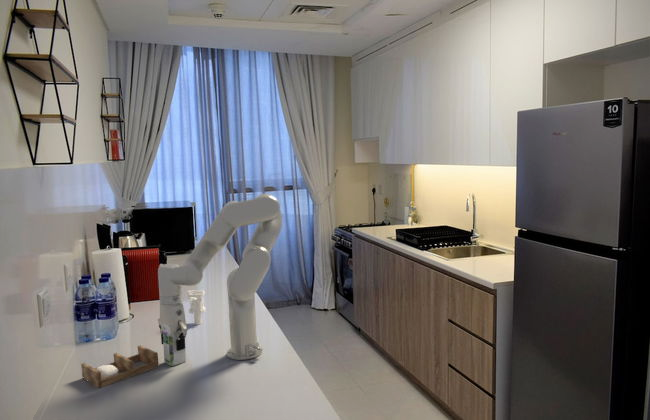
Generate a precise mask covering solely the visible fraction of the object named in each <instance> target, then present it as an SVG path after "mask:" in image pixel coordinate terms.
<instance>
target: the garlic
mask: <svg viewBox="0 0 650 420" xmlns="http://www.w3.org/2000/svg"><path fill="white" fill-rule="evenodd" d="M96 368H97V369H96V370H98V371H99V372H101V380H102V379H105V378H108V377H111V376H114V375H117V374H120V373H119V371H120V370H118V369H117V368H116V367H115V366H113V365H107V364H103V365H101V366H97V367H96Z"/></svg>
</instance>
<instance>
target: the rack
mask: <svg viewBox="0 0 650 420" xmlns="http://www.w3.org/2000/svg"><path fill="white" fill-rule="evenodd" d="M139 361H141V362H143V363H145V364H143V365H139V366H137V367H135V368H134V363H136V362H139ZM106 365H113V366H115V367H116V368H117V369H118V370H119V371H120V373H119V374H117V375H114V376H111V377H108V378H105V379H102V380H101V372H99V371H98V370H96V369H97V368H98V367H95V368H94V367H93V366H90V365H88V364H87V363H86V362H83V363H81V374H82V375H81V376H82V378H83V377H84V378H85V379H86V380H88V381H89V382H90V383H89V382H88V381H87V382H88V383H89V384H91V383H92V384H91V385H92V386H94V387H96V388H97V389H100V388H103V387H106V386H109V385H113V384H114V383H117V382H120V381H123V380H126V379H128V378H132V377H133V376H137V375H139V374H140V375H141V374H143V373H145V372H148V371H150V370H153V369H157V368H159V366H160V365H159V353H158V352H157V351H155V350H152V349H150V348H147V347H145V346H144V345H137V354H135V355H132V356H129V357H125V356H124V355H122V354H120V353H118V352H116V353H113V362H109V363H106ZM86 380H85V381H86Z"/></svg>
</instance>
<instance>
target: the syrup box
mask: <svg viewBox="0 0 650 420" xmlns="http://www.w3.org/2000/svg"><path fill="white" fill-rule="evenodd" d="M162 326H163V344H162V345H163V359H164V360H163V361H164V363H166V364H167V365H169V366H171V367H174V366H177V365H179V364H182V363H185V362H186V361H187V358H186V357H187V356H186V355H187V354H186V348H185V349H183V350H180V351H177V350H176V340H177V337H176V335H175V333H172V331H171V326H168V325H165V324H162ZM178 330H180V329H178ZM178 330H176V331H178ZM178 334H179V335H180V334H181V332H180V333H178Z"/></svg>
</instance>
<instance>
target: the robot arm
mask: <svg viewBox="0 0 650 420" xmlns="http://www.w3.org/2000/svg"><path fill="white" fill-rule="evenodd" d="M280 204H281V203H280V201H279V200H278V199H277V198H276V197H275V196H273V195H271V194H269V193H261V194H259V195H257V197H255V198H251V199H248V200H247V199H245V200H242V201H237V200H230V201H228V202H227V203H225V205H223V207H222V208H221V210H220V211H219V213H218V214H217V215H216V217H215V218H214V219H213V221H212V222H211V224H210V226H209V227H208V228H207V230H206V231H205V232H204V234H203V236H202V237H201V239H200V240H199V241H198V243H197V244H196V246H195V247H194V249H192V251H191V253H190V254H189V255H188V257H187V259H186V260H185V261H184V263H183V265H179V264H177V263H164V264H161V265H159V267H157V278H158V292H159V293H158V296H159V318H157V322H158V327H159V329H160V330H159V332H160V340H161V342H160V344H161V345H163V326H162V324H165V325H168V326H171V331H172V333H175V335H176V337H177V340H176V350H177V351H180V350H183V349H185V350H186V336H187V332H188V327H187V322H186V321H187V320H186V314H185V308H184V304H183V295H182V286H188V287H190V286H191V287H192V286H193V287H194V286H197V285H198V284H200V283H201V282H202V280H203V277H204V275H203V274H204V271H205V270H206V268H207V267H208V265H209V263H210V262H211V261H212V260H213V258H214V257H215V256H216V255H217V254H218V253H219V252H221V251H222V250H223V249H224V248H226V246H227V245H228V243H229V242H230V240H231V239H232V237H233V236H234V234H235V233H236V231H237V230H238V229H239V228H240V227H245V226H250V225H254V224H257V226H256V228H255V230H254V231H253V234H252V236H251V238H250V239H249V241H248V242H247V244H246V246H245V247H244V249H243V251H242V253H241V254H242V255H241V257H242V260H241V261H240V264H239V266H238V267H237V268H234V269H233V270H232V271H230V272H229V274H228V276H227V280H226V289H227V300H228V301H227V302H228V318H229V319H228V320H229V322H228V323H229V334H230V335H229V337H230V339H229V340H230V348H229V349H228V350H227V351H226V356H227V358H229V359H231V360H236V361H246V360H251V359H254V358H257V357H259V356H260V355H262V353H263V348H262V347H261V346H260V344H259V342H258V337H257V336H258V335H257V316H256V315H257V312H256V310H257V309H256V297H255V296H256V295H255V294H256V293H257V291H258V289H259V288H260V286H261V284H262V283H263V280H264V278H265V276H266V275H267V273H268V271H269V269H270V266H271V262H272V257H271V251H272V250H273V248H274V246H275V244H276V241H277V240H278V237H279V235H280V234H281V230H282V225H283V215H282V211H281V205H280ZM178 329H180V330H178ZM176 330H178V331H176ZM180 332H181V334H180V335H179V334H178V333H180Z"/></svg>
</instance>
